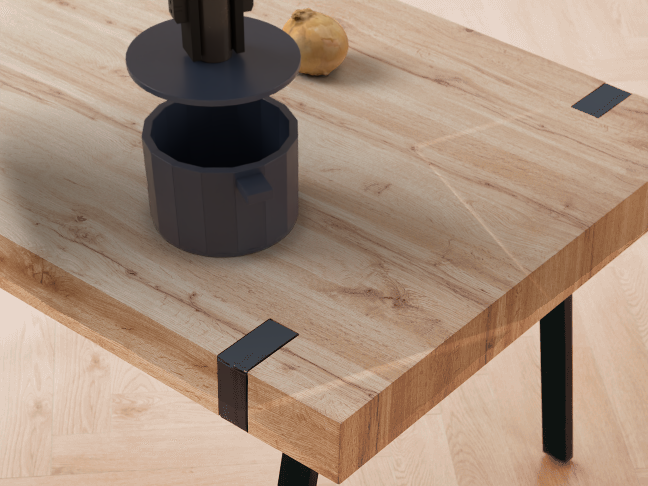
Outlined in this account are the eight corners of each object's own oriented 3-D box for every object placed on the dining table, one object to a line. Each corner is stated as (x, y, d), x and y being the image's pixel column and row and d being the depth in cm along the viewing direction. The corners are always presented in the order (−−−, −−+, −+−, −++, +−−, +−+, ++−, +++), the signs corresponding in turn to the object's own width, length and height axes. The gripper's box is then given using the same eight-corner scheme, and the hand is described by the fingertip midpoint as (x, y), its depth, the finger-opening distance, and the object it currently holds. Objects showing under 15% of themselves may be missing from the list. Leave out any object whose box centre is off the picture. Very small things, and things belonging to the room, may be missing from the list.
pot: (189, 291, 95) (181, 205, 89) (125, 173, 108) (114, 91, 102) (333, 251, 100) (335, 167, 94) (256, 143, 113) (253, 63, 107)
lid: (157, 128, 86) (148, 29, 80) (105, 41, 96) (94, -52, 90) (328, 92, 91) (331, -3, 86) (262, 14, 101) (261, -76, 95)
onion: (327, 44, 129) (328, -11, 125) (360, 75, 124) (362, 18, 120) (267, 58, 126) (266, 2, 122) (298, 90, 121) (298, 33, 116)
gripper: (101, -219, 72) (134, 88, 87) (324, -238, 77) (317, 53, 93) (71, -251, 76) (108, 45, 92) (283, -267, 82) (284, 14, 98)
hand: (213, 49), depth 93 cm, fingers closed on lid, 3 cm apart
